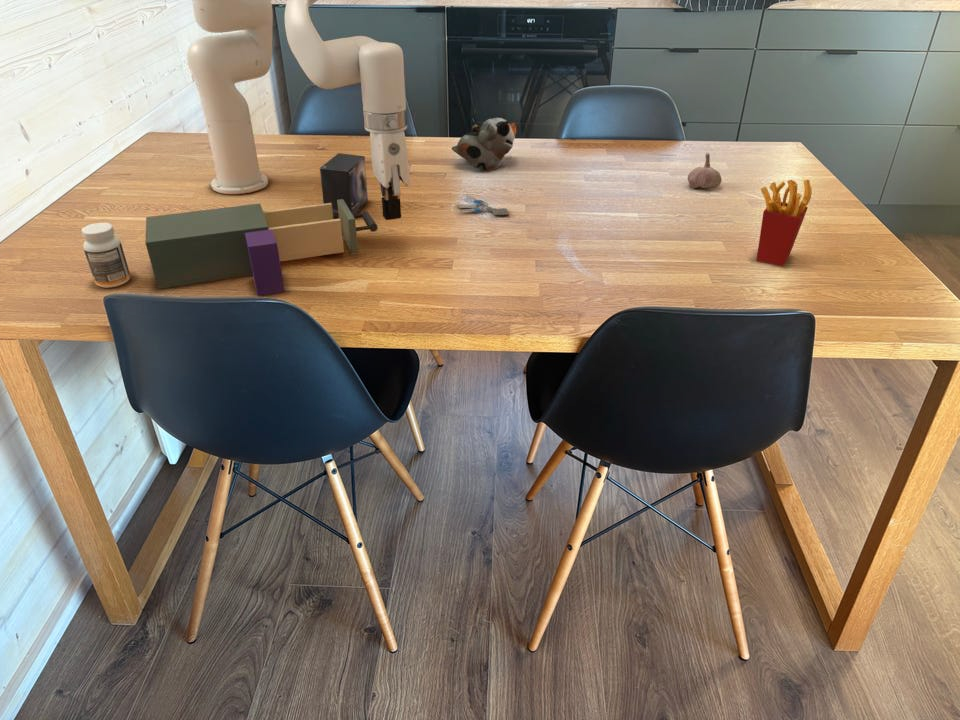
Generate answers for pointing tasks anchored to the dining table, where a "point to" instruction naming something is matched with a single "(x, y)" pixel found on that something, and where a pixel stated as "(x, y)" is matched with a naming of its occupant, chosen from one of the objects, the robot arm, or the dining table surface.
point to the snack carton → (265, 262)
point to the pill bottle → (105, 255)
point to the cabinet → (202, 244)
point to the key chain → (495, 211)
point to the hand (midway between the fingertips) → (392, 217)
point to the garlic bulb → (704, 176)
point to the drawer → (315, 230)
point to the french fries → (781, 222)
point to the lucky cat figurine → (487, 143)
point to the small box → (344, 182)
